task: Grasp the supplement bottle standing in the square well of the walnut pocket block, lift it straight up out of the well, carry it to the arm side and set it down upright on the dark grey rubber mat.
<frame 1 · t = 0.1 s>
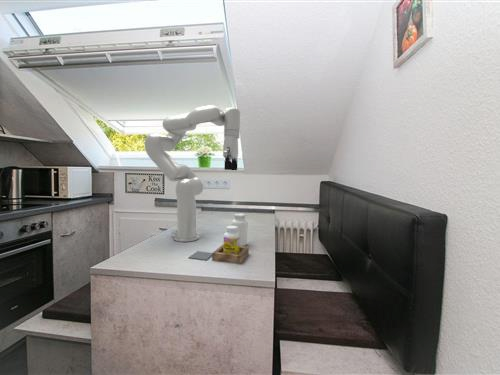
hand: (231, 169, 115), 37 cm above the countertop, tool pointing down, fingers open, 9 cm apart
supplement bottle: (231, 257, 98), resting in pocket block
mat: (201, 256, 98), on the countertop
pocket block: (231, 256, 98), on the countertop
pill bottle: (239, 244, 116), on the countertop
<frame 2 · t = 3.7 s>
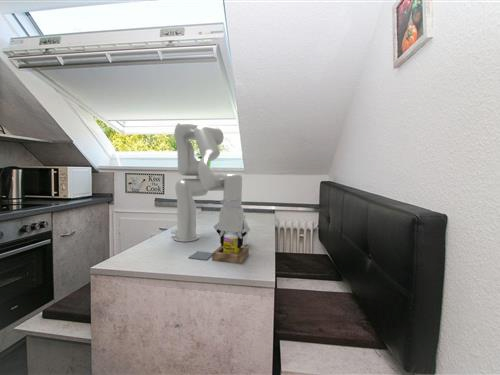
hand: (231, 245, 98), 5 cm above the countertop, tool pointing down, fingers closed on supplement bottle, 6 cm apart
supplement bottle: (231, 257, 98), resting in pocket block, touching gripper
everything else where it was.
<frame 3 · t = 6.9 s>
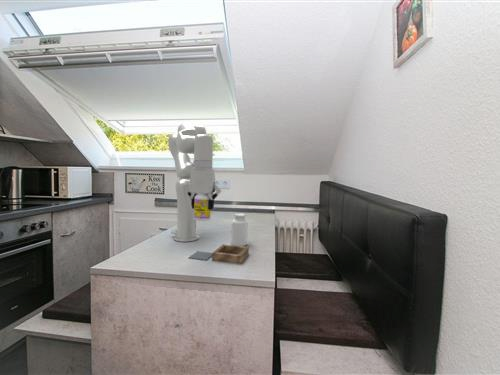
hand: (202, 208, 97), 20 cm above the countertop, tool pointing down, fingers closed on supplement bottle, 6 cm apart
supplement bottle: (202, 220, 97), point 15 cm above the countertop, touching gripper
everything else where it was.
when the fingers open (7 cm above the countertop, at t = 10.3 s): supplement bottle drops 1 cm, resting on mat.
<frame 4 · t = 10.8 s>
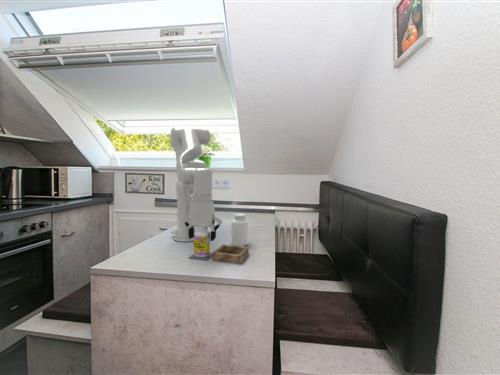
hand: (202, 239, 98), 7 cm above the countertop, tool pointing down, fingers open, 9 cm apart
supplement bottle: (201, 255, 98), resting on mat
everything else where it was.
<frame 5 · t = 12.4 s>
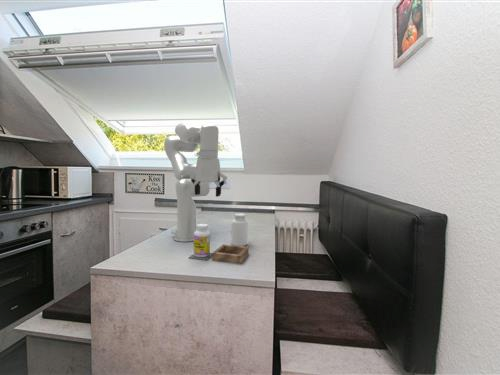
hand: (207, 195, 101), 25 cm above the countertop, tool pointing down, fingers open, 9 cm apart
nothing on the countertop moved.
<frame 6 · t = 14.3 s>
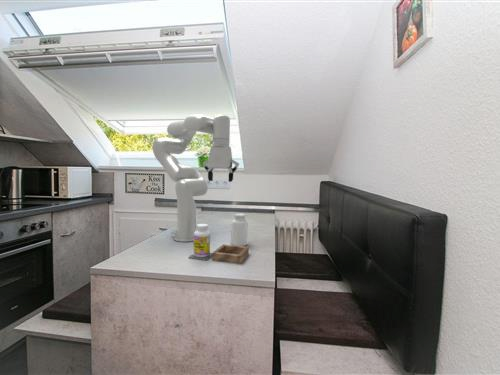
hand: (220, 181, 107), 31 cm above the countertop, tool pointing down, fingers open, 9 cm apart
nothing on the countertop moved.
at the end: supplement bottle inside the target area on the mat (0.1 cm from its centre), point 0.2 cm above the mat's base; supplement bottle tilted 0°; the gripper is holding nothing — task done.
